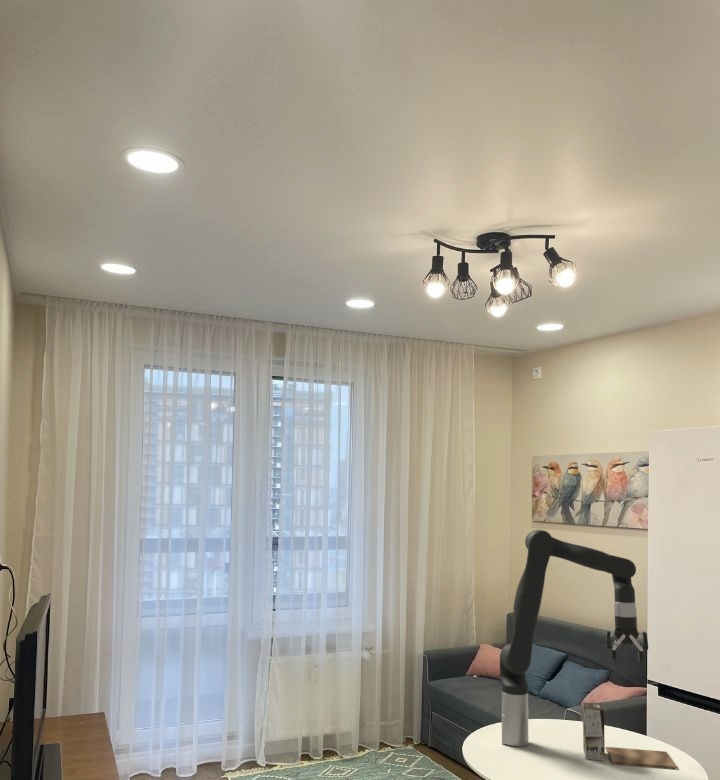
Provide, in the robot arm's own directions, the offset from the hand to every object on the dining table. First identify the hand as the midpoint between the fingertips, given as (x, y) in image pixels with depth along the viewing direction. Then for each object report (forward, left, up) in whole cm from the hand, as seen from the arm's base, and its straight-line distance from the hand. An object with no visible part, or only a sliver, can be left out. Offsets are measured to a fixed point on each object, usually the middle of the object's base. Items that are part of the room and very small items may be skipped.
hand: (627, 661), depth 269 cm
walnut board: (+1, -13, -29) cm, 32 cm away
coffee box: (-14, -13, -29) cm, 35 cm away
